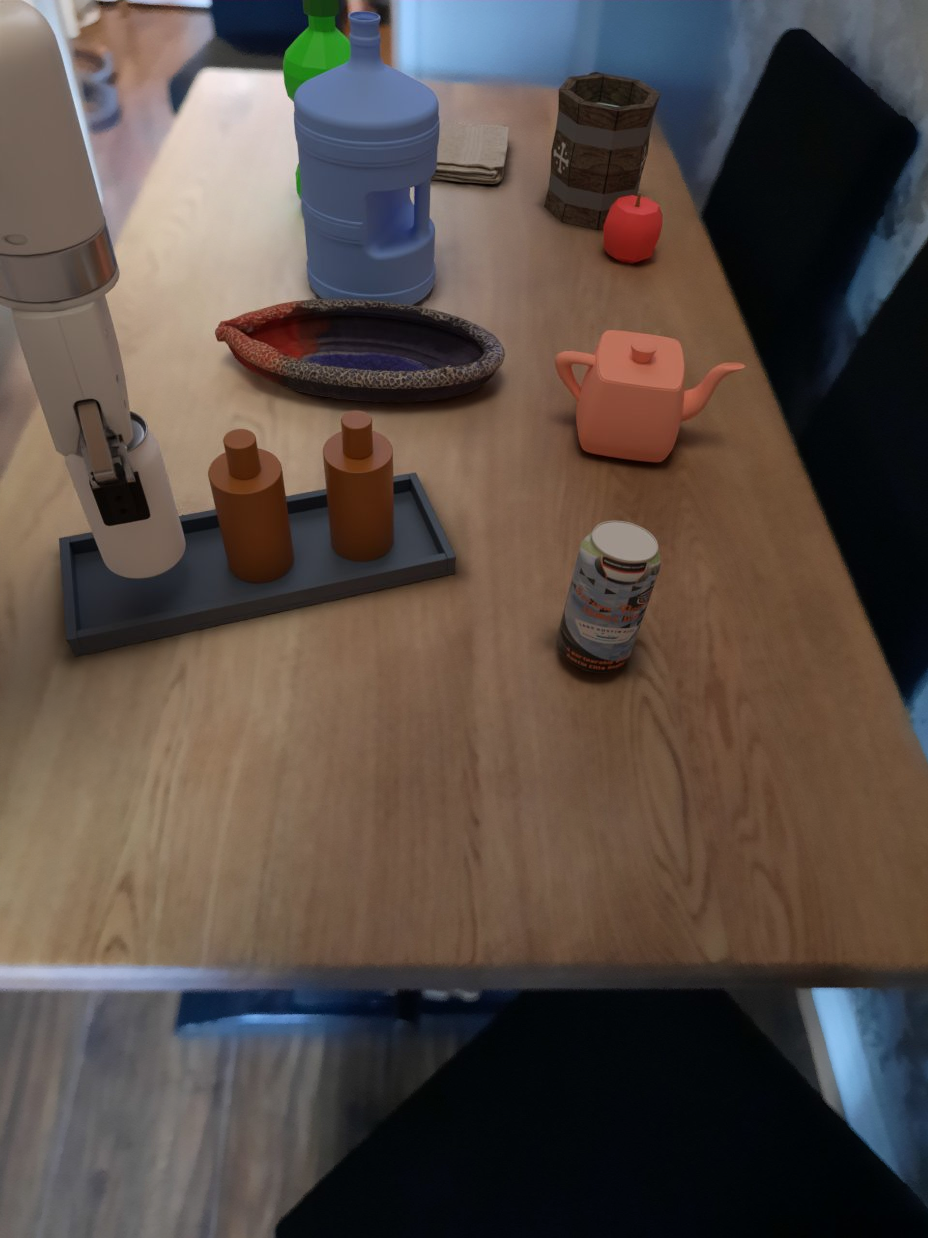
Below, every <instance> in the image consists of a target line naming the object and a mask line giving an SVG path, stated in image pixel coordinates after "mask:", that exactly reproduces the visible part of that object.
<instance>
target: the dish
mask: <svg viewBox="0 0 928 1238" xmlns="http://www.w3.org/2000/svg"><path fill="white" fill-rule="evenodd" d="M214 335H215V339H216V341H217V342H218V343H222V342H224V343H225V344H227V346H228V348H229V351H230V352H231V354H232V356H233V358H234V359H235V360H236V362H238V363H240V364H241V365H242V366H243V367H244V368H246V370H248V371H250V372H253V373H255V374H257V375H259V376H261V377H262V378H264V379H266V380H268V381H270V382H272V383H274V384H276V385H279V386H281V387H283V388H285V389H288V390H291V391H295V392H299V393H303V394H307V395H314V396H319V397H325V398H333V399H339V400H340V399H341V400H347V401H348V400H349V401H360V402H373V403H374V402H375V403H376V402H377V403H381V402H382V403H411V402H429V401H436V400H437V401H439V400H443V399H449V398H450V399H451V398H455V397H457V396H463V395H465V394H468V393H470V392H473V391H475V390H477V389H478V388H480V387H482V386H483V385H485V384H486V383H488V382H489V381H490V380H491V379H492V378H493V377H494V376H495V374H496V373H497V371H498V369H500V368H501V366H502V365H503V364H504V360H505V358H506V357H505V356H506V352H505V351H506V350H505V348H504V346H503V343H501V341H500V340H499V339H498V338H497V337H496V336H495V335H494V333H492V332H490V331H489V330H487V329H486V328H484V327H482V326H480V325H478V324H476V323H474V322H472V321H470V320H467V319H464V318H462V317H459V316H456V315H454V314H450V313H447V312H443V311H438V310H435V309H430V308H427V307H421V306H416V305H405V304H399V303H391V302H383V301H371V300H355V299H322V298H316V299H315V298H314V299H313V298H312V299H302V300H293V301H287V302H283V303H278V304H274V305H270V306H267V307H264V308H260V309H256V310H253V311H249V312H245V313H243V314H240V315H238V316H235V317H233V318H231V319H226V320H221V321H220V322H219V324H218V325H217V327H216V328H215V330H214Z"/></svg>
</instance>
